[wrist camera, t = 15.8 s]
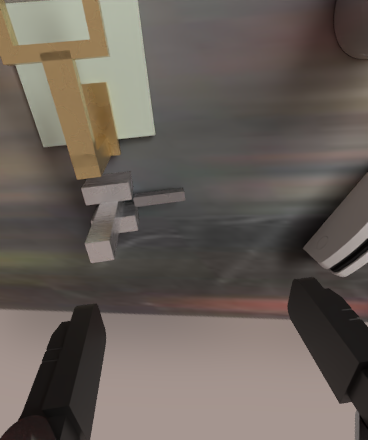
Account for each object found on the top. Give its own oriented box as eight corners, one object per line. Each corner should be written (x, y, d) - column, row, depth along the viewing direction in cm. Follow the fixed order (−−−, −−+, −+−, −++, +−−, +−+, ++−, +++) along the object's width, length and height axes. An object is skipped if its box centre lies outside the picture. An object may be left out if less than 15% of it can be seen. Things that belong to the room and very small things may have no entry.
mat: (0, 7, 23) (-6, 4, 22) (137, -3, 24) (136, -6, 23) (46, 145, 28) (43, 147, 28) (155, 133, 29) (155, 135, 28)
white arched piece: (323, 259, 42) (349, 296, 33) (298, 245, 42) (318, 277, 33) (404, 171, 36) (465, 184, 27) (375, 153, 36) (426, 160, 27)
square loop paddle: (15, -30, 21) (-51, -86, 14) (101, -35, 21) (80, -92, 14) (71, 158, 28) (46, 183, 21) (134, 151, 29) (130, 173, 22)
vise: (88, 176, 31) (58, 225, 20) (179, 165, 31) (196, 207, 21) (100, 220, 33) (79, 283, 23) (184, 209, 34) (200, 265, 24)
